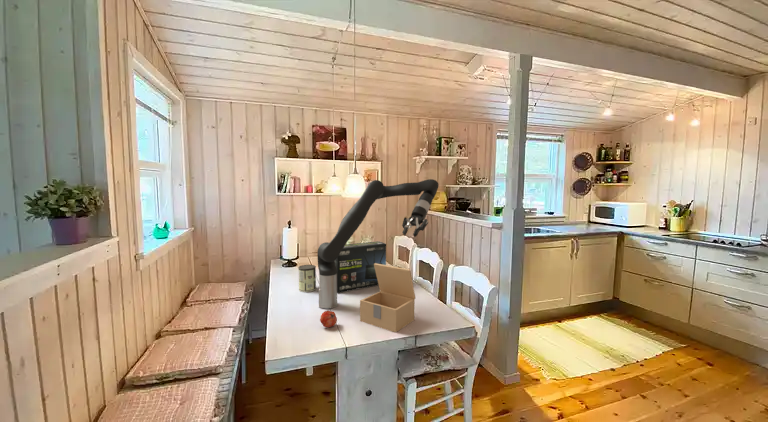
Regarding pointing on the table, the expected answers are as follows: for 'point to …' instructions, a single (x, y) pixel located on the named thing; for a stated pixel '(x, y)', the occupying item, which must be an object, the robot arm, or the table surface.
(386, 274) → the box lid
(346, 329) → the table surface
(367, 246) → the router box
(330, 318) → the pomegranate
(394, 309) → the cardboard box
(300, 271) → the coffee can
